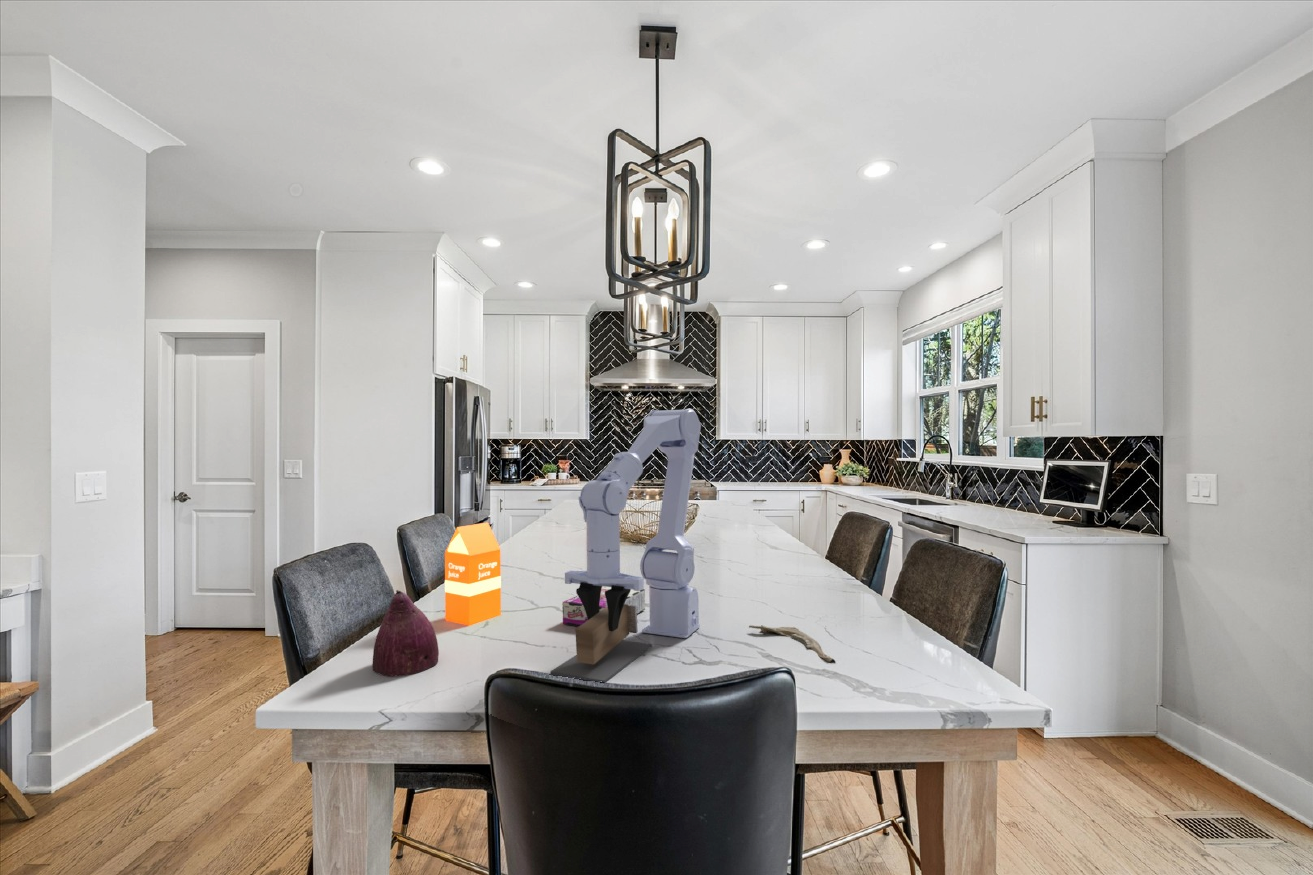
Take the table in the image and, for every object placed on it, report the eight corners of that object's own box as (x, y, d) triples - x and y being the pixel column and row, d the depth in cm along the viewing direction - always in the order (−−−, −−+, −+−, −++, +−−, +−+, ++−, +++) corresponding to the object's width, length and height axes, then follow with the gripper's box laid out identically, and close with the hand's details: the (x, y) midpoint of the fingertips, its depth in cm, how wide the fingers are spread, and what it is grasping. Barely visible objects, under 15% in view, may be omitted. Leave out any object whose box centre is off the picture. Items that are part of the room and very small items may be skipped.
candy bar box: (561, 600, 124) (602, 583, 138) (561, 624, 123) (602, 605, 138) (608, 606, 119) (645, 588, 134) (608, 631, 119) (645, 610, 133)
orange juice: (444, 620, 127) (443, 526, 128) (477, 609, 135) (476, 521, 135) (469, 625, 123) (469, 528, 123) (501, 615, 131) (501, 523, 131)
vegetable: (416, 696, 97) (412, 614, 93) (359, 683, 99) (353, 603, 95) (451, 658, 107) (449, 582, 103) (399, 647, 109) (395, 572, 105)
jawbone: (779, 629, 123) (780, 619, 123) (865, 660, 106) (866, 648, 106) (747, 634, 118) (748, 623, 118) (832, 667, 101) (833, 655, 101)
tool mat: (651, 646, 110) (651, 644, 110) (604, 683, 94) (604, 680, 94) (603, 639, 114) (603, 637, 114) (550, 673, 98) (550, 671, 98)
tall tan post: (601, 665, 97) (599, 632, 96) (569, 660, 99) (568, 628, 99) (637, 633, 109) (636, 604, 109) (608, 629, 112) (607, 600, 111)
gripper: (554, 550, 103) (555, 629, 103) (630, 556, 97) (631, 640, 97) (576, 544, 110) (576, 618, 110) (648, 549, 104) (649, 627, 104)
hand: (603, 628), depth 104 cm, fingers closed on tall tan post, 3 cm apart
